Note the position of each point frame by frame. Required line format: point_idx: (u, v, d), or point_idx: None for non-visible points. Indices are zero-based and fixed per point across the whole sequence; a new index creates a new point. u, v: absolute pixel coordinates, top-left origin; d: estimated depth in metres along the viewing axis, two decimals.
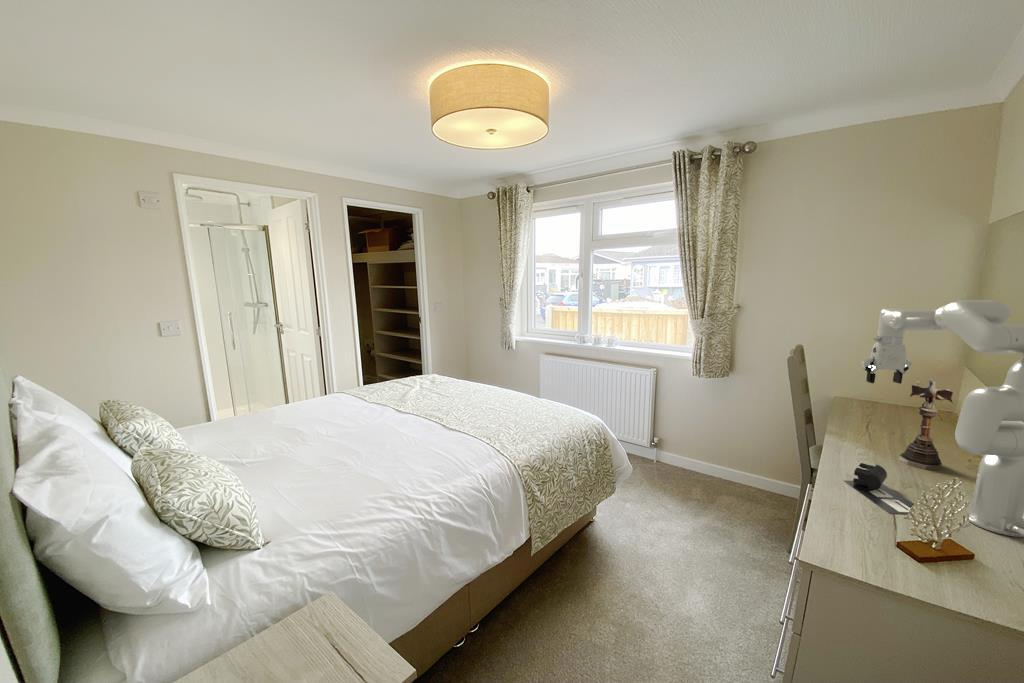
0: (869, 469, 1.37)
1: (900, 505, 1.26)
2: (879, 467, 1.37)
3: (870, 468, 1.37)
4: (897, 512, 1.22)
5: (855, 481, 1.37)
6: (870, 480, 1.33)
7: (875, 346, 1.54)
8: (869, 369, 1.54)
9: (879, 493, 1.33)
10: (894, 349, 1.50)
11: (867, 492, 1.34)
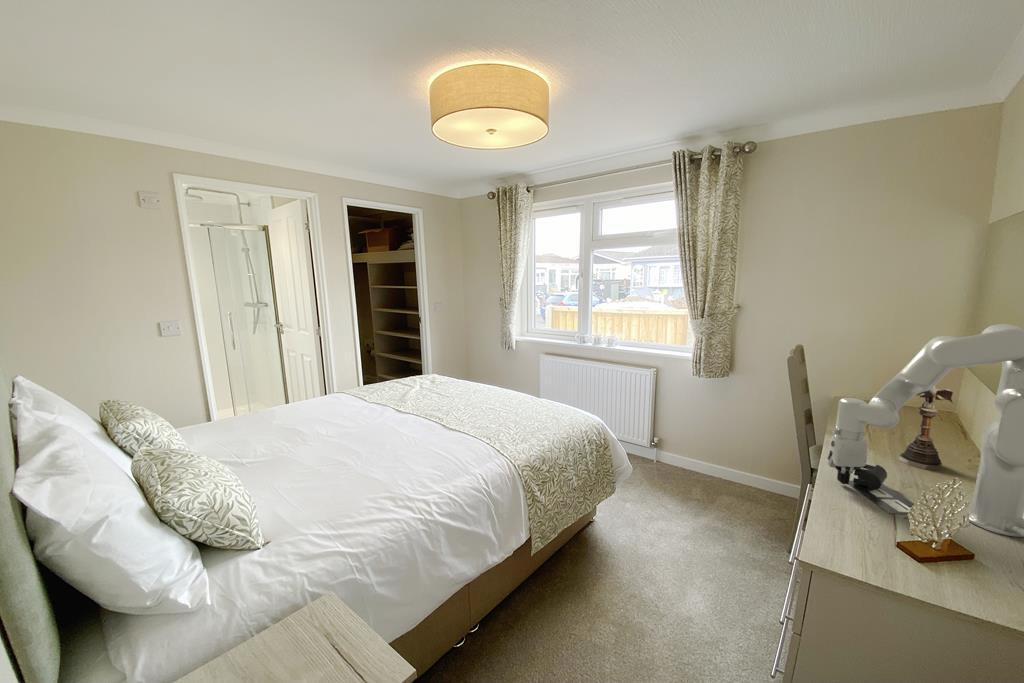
0: (869, 469, 1.37)
1: (900, 505, 1.26)
2: (879, 467, 1.37)
3: (870, 468, 1.37)
4: (897, 512, 1.22)
5: (855, 481, 1.37)
6: (870, 480, 1.33)
7: (833, 439, 1.36)
8: (840, 468, 1.37)
9: (879, 493, 1.33)
10: (854, 445, 1.33)
11: (867, 492, 1.34)
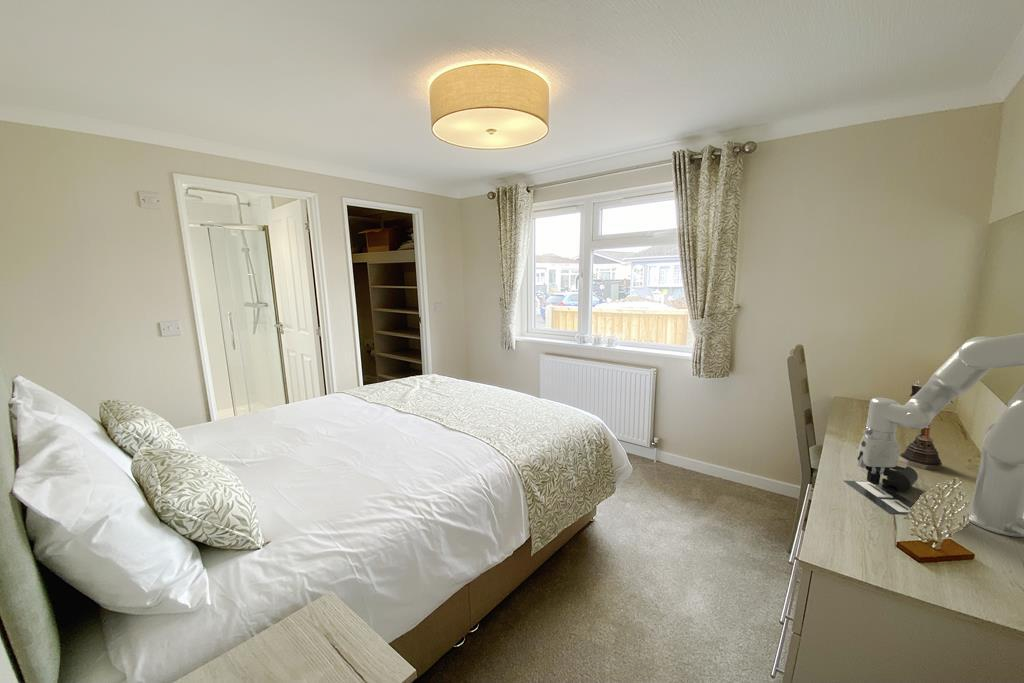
0: (899, 470, 1.36)
1: (900, 505, 1.26)
2: (910, 469, 1.36)
3: (900, 469, 1.37)
4: (897, 512, 1.22)
5: (884, 481, 1.36)
6: (900, 481, 1.33)
7: (864, 439, 1.35)
8: (870, 469, 1.36)
9: (879, 493, 1.33)
10: (885, 445, 1.32)
11: (867, 492, 1.34)
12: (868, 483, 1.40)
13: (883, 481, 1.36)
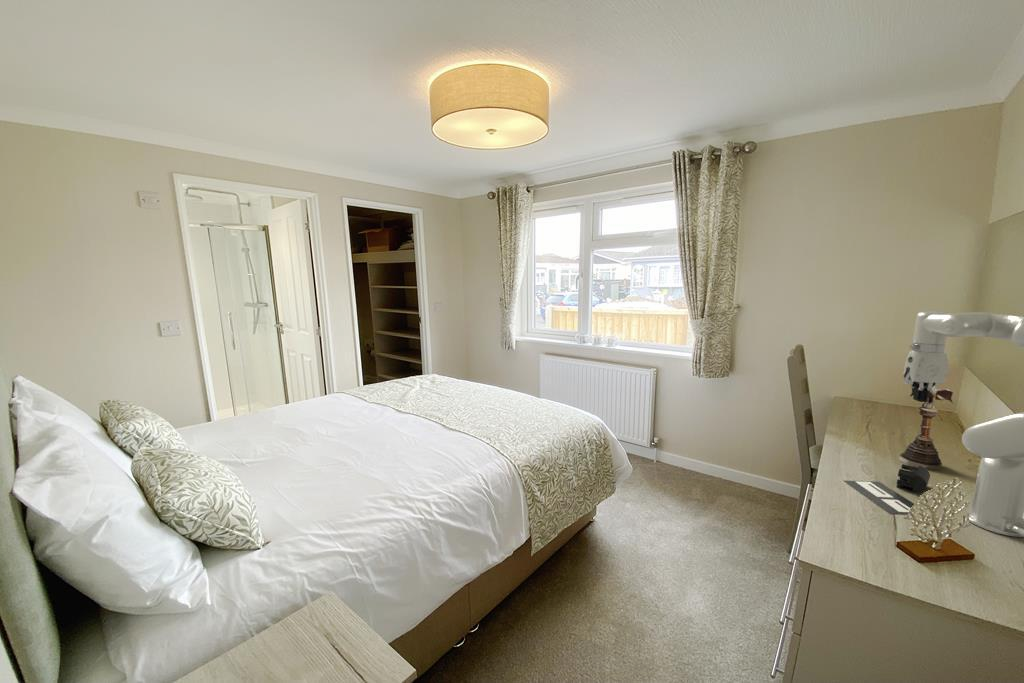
0: (913, 470, 1.36)
1: (900, 505, 1.26)
2: (922, 468, 1.36)
3: (913, 469, 1.37)
4: (897, 512, 1.22)
5: (899, 482, 1.36)
6: (915, 481, 1.32)
7: (911, 355, 1.32)
8: (917, 385, 1.32)
9: (879, 493, 1.33)
10: (934, 358, 1.28)
11: (867, 492, 1.34)
12: (868, 483, 1.40)
13: (898, 482, 1.36)
